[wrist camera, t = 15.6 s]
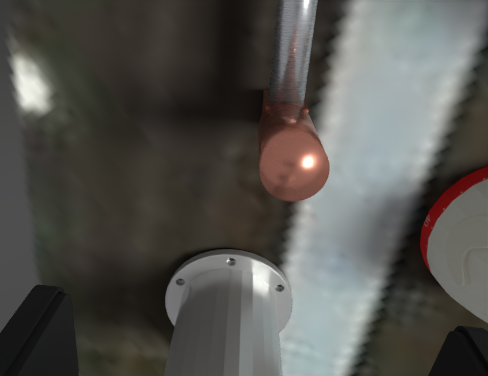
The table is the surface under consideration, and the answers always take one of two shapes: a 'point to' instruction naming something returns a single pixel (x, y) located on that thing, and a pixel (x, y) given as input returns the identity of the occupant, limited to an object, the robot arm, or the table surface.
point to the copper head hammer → (290, 110)
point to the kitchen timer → (460, 242)
